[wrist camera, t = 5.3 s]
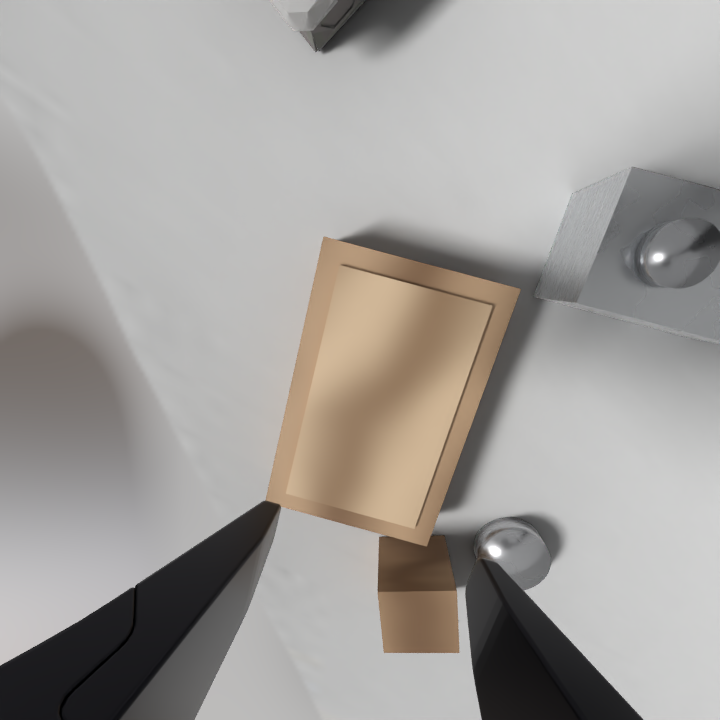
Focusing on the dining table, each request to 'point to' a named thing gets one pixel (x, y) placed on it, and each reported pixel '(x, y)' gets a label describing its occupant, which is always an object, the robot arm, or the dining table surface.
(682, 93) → the dining table surface
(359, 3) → the electrical switch
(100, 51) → the dining table surface
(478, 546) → the chrome dome knob
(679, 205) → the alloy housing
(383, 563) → the walnut offcut
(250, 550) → the robot arm
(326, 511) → the tan shallow rectangular tray
